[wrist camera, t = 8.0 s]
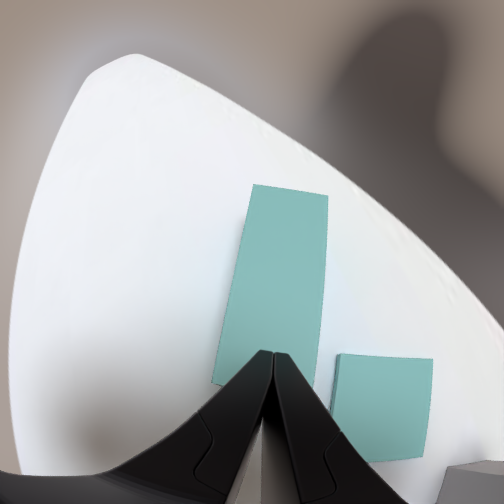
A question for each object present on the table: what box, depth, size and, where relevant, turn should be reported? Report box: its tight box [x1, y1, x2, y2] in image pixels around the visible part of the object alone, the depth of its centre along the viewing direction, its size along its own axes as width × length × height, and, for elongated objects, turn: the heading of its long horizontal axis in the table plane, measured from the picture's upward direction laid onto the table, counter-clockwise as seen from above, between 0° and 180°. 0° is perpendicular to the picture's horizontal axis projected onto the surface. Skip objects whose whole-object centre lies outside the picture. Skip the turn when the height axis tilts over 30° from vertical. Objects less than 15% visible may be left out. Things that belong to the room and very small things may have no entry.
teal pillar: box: [211, 184, 328, 389], centre depth 15 cm, size 4×4×10 cm
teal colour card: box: [330, 354, 433, 462], centre depth 13 cm, size 6×6×1 cm
